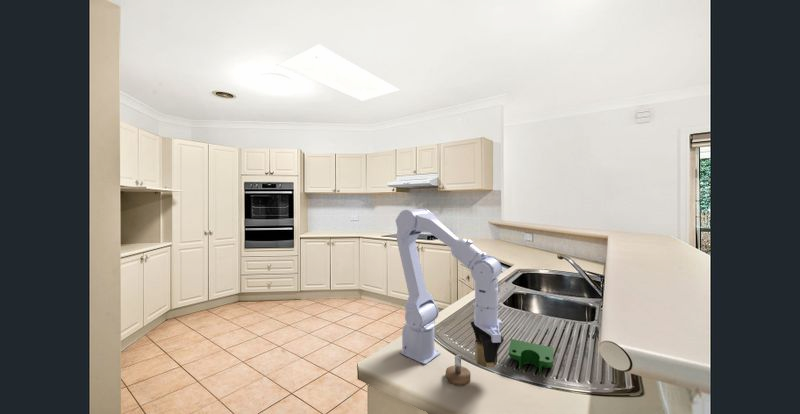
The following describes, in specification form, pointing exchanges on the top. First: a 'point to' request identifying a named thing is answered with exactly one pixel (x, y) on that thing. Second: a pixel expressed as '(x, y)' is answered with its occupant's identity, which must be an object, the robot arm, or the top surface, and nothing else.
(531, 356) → the clamp
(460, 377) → the walnut stand
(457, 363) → the steel post
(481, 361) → the bronze collar
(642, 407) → the top surface
